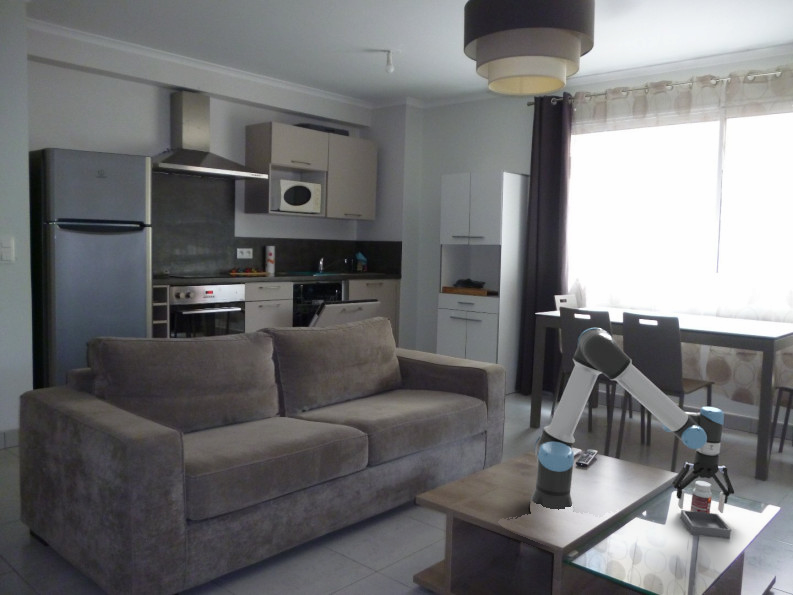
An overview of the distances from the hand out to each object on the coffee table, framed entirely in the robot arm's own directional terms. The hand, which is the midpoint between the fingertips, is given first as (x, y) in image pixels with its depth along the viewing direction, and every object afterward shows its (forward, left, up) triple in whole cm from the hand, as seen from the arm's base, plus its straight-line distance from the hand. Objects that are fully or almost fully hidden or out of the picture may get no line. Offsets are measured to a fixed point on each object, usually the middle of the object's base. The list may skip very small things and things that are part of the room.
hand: (700, 509), depth 232 cm
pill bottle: (0, 0, -2) cm, 2 cm away
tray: (-2, -11, -2) cm, 11 cm away
